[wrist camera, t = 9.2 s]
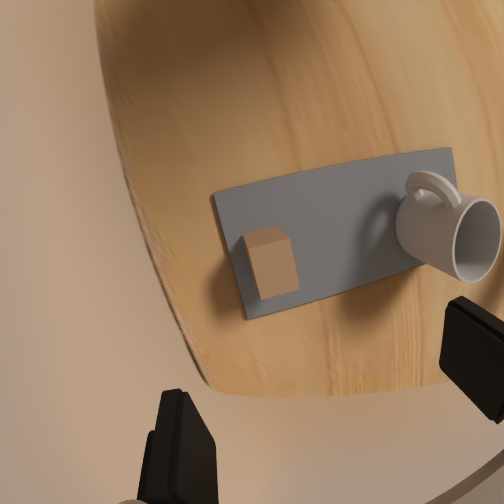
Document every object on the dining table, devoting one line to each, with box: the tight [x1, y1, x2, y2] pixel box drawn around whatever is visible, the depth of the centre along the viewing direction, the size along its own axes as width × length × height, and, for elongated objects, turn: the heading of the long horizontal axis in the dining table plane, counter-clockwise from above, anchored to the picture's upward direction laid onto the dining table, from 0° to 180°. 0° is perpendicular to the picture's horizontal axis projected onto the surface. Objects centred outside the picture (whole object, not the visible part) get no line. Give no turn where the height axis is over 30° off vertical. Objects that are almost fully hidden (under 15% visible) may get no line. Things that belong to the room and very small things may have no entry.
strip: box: [213, 147, 457, 319], centre depth 24 cm, size 12×26×5 cm, turn 104°
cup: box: [395, 171, 502, 284], centre depth 22 cm, size 7×10×9 cm
